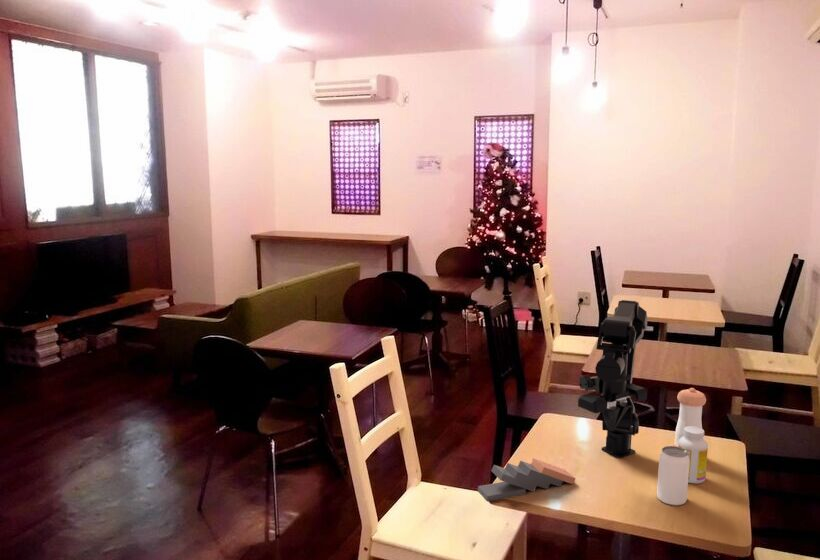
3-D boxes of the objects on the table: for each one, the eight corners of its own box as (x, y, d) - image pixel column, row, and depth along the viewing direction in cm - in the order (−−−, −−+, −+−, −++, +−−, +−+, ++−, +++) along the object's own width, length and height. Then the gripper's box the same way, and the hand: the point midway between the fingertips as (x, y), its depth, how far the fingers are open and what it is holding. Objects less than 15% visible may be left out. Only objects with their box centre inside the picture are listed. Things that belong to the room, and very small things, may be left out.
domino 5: (564, 469, 163) (533, 458, 160) (575, 478, 159) (544, 467, 155) (562, 475, 163) (530, 464, 160) (573, 484, 159) (541, 473, 155)
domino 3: (539, 474, 161) (507, 462, 157) (550, 483, 156) (517, 471, 153) (536, 479, 161) (504, 468, 157) (547, 489, 156) (514, 478, 153)
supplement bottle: (703, 474, 164) (707, 426, 162) (706, 486, 158) (710, 436, 155) (675, 470, 166) (678, 422, 164) (676, 482, 160) (680, 433, 158)
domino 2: (515, 479, 158) (478, 486, 155) (525, 489, 154) (487, 496, 151) (515, 485, 159) (478, 492, 156) (525, 495, 154) (487, 502, 151)
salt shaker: (667, 455, 174) (672, 387, 171) (681, 448, 179) (686, 382, 175) (693, 465, 169) (698, 395, 165) (707, 457, 173) (712, 389, 170)
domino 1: (526, 476, 160) (494, 464, 156) (536, 485, 155) (503, 474, 152) (523, 482, 160) (491, 470, 156) (533, 491, 155) (500, 480, 152)
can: (689, 507, 148) (693, 458, 146) (659, 504, 149) (662, 456, 147) (683, 493, 154) (686, 446, 152) (654, 491, 155) (657, 444, 153)
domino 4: (551, 471, 162) (520, 460, 158) (562, 480, 158) (530, 469, 154) (549, 477, 162) (517, 466, 159) (560, 486, 158) (527, 475, 154)
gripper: (615, 356, 170) (611, 412, 173) (562, 367, 161) (560, 427, 163) (650, 367, 161) (646, 426, 163) (597, 380, 151) (593, 443, 154)
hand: (611, 430), depth 161 cm, fingers closed
